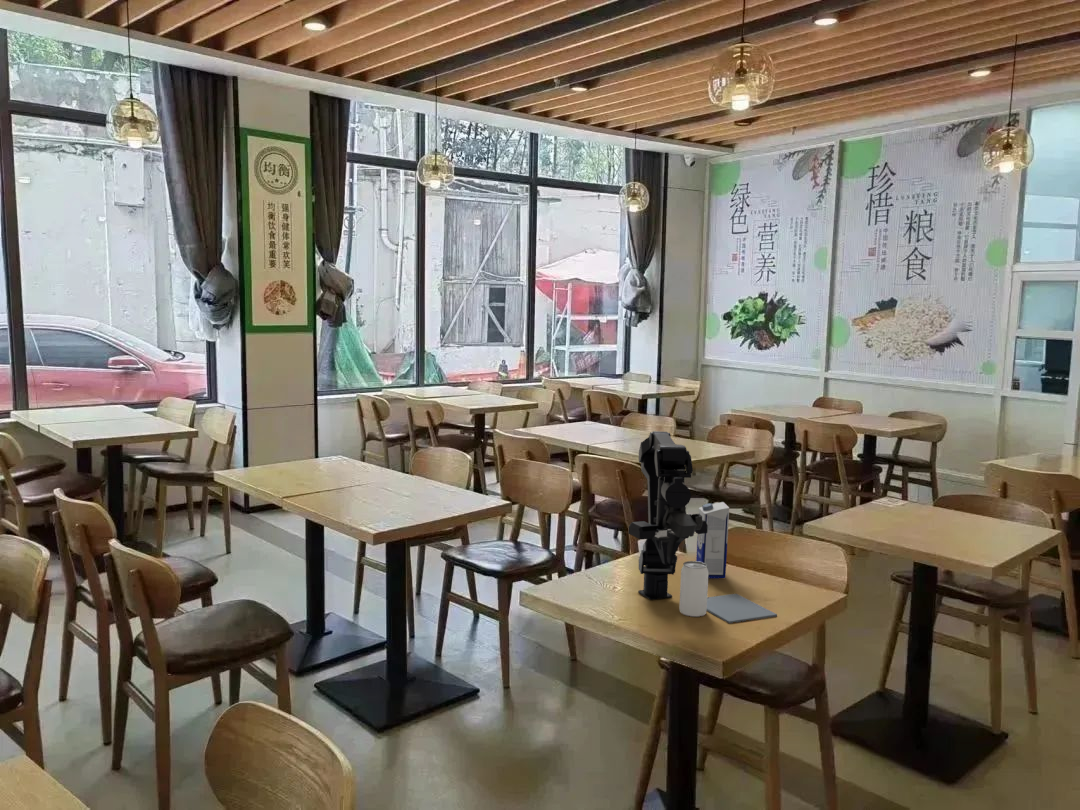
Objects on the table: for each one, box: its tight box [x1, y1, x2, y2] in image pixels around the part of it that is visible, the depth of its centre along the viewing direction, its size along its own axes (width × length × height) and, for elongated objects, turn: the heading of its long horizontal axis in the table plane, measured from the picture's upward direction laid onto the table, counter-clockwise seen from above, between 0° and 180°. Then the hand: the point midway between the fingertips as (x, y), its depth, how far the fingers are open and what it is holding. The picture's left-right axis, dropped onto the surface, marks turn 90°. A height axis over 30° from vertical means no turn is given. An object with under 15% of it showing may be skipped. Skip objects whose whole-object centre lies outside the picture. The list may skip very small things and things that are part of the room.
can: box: [678, 560, 709, 618], centre depth 208 cm, size 6×6×12 cm
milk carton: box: [695, 501, 730, 579], centre depth 239 cm, size 7×7×20 cm
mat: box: [706, 593, 778, 624], centre depth 213 cm, size 16×14×1 cm
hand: (666, 563), depth 204 cm, fingers closed
